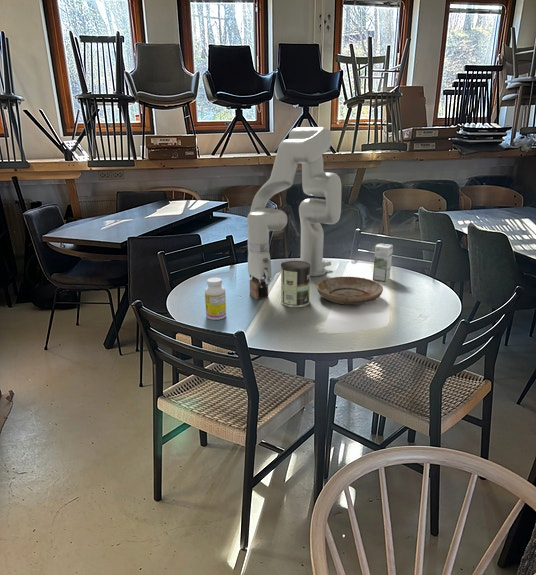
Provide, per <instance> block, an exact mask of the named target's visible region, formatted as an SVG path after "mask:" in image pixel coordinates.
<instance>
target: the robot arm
mask: <svg viewBox="0 0 536 575" xmlns="http://www.w3.org/2000/svg"><path fill="white" fill-rule="evenodd" d="M332 143H333V133H332V130H330V128H328V127H326V126H313V127H312V126H305V127H304V126H300V127H299V126H298V127H294V128H293V129H291V130H290V131H289V134H288V139H284V140H282V141H281V142H280V143H279V145H278V147H277V151H276V155H275V158H274V163H273V165H272V166H273V167H272V170H271V174H270V178H269V179H268V180H267V181H266V182H265V183H264V184H263V185H262V186H261V187H260V188H259V189H258V191H257V192H256V193H255V195H254V197H253V199H252V203H251V206H250V211H249V213H248V214H247V217H246V218H247V220H246V221H247V227H246V228H247V273H248V275H249V278H250V280H254V279H259V285H260V287H259V298H262V297H266V298H268V297H267V287H268V288H269V284H270V283H271V278H272V261H271V255H270V232H272V231H273V232H274V231H275V232H276V231H281V230H283V229H285V227H286V226H287V224H288V220H289V219H288V215H287V214H286V212H285V211H284V210H281V209H277V208H276V209H275V208H270V207H269V208H267V207H266V206H267V203H268V202H269V200H271V199H272V197H274V195H276V194H279V193H280V192H283V191H285V190H287V189H290V188H291V187H292V186H293V184H294V179H295V176H296V172H297V168H298V165H299V164H301V178H302V179H301V182H302V183H301V184H302V186H301V187H302V191H303V193H304V194H305V195H306V196H312V198H305V199H304V200H302V201H301V202H300V204H299V206H298V215H299V220H300V256H299V257H300V259H299V261H304V262H308V263H310V265H311V267H310V277H319V276H323V275H325V274H326V273H327V272H326V268H327V267H329V266H331V265H332V262H331V261H330V260H329V261H325V260H324V259H323V258H324V229H323V227H322V224H325V225H335V224H336V223H338V222H339V220H340V218H341V214H342V181H341V177H340V176H339V175H338V174H337V173H336V172H335V173H334V172H327V171H325V170H324V158H323V155H324V154H325V153H326V152H327V151H328V150H329V149H330V148H331V145H332ZM313 196H314V197H321V198H313ZM322 197H324V198H325V199H322ZM250 280H249V281H250ZM262 280H264V282H263V283H262ZM262 299H263V298H262Z"/></svg>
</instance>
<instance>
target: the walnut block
mask: <svg viewBox="0 0 536 575" xmlns="http://www.w3.org/2000/svg"><path fill="white" fill-rule="evenodd" d="M263 282H264V280H262V283H263ZM259 287H260V285H259V279H254V280H249V296H250V297H251V296H252V298H253V297H254V299H255V300H262V299H265V297H262V299H261V298H259ZM266 298H269V286H268V287H267V297H266Z"/></svg>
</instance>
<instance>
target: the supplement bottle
mask: <svg viewBox="0 0 536 575" xmlns="http://www.w3.org/2000/svg"><path fill="white" fill-rule="evenodd" d="M206 282H207V284H206V285H207V286H206V288H205V289H204V300H205V301H204V302H205V303H204V304H205V315H206V318H207V319H209V320H213V321H219V320H222V319H225V317H226V316H227V302H226V301H227V300H226V299H227V298H226V297H227V296H226V287H225V286H223V285H222V284H223V279H222V278H220V277H210V278H207V280H206Z"/></svg>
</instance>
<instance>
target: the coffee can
mask: <svg viewBox="0 0 536 575" xmlns="http://www.w3.org/2000/svg"><path fill="white" fill-rule="evenodd" d="M310 267H311V265H310V263H308V262H304V261H300V260H289V261H284V262H282V263H281V264H280V269H281V270H280V271H281V272H280V274H281V275H280V276H281V279H280V280H281V282H280V283H281V284H280V288H281V290H280V292H281V293H280V295H281V297H280V298H281V299H280V303H281V304H282V306H285V307H289V308H304V307H307V306H309V305H310V286H311V285H310V284H311V282H310V281H311V276H310Z"/></svg>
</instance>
